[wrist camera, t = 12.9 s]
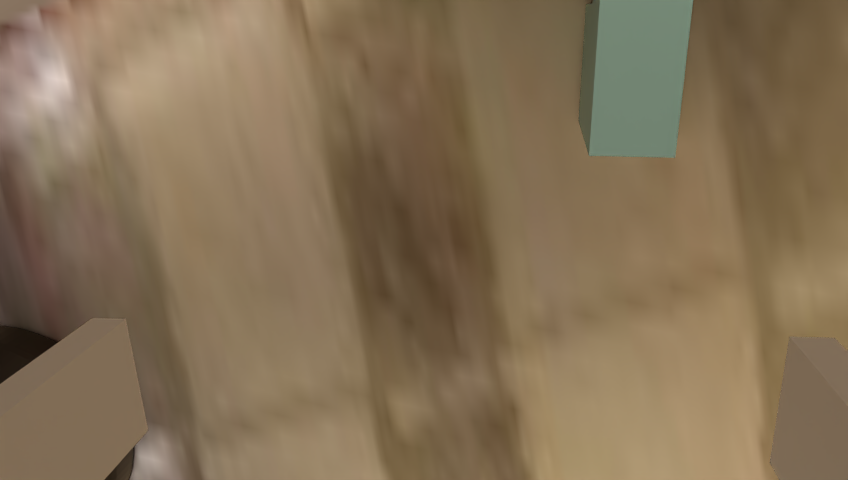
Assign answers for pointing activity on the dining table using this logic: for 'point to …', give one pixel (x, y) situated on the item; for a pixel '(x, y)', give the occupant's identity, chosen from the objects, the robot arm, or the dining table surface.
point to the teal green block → (633, 76)
